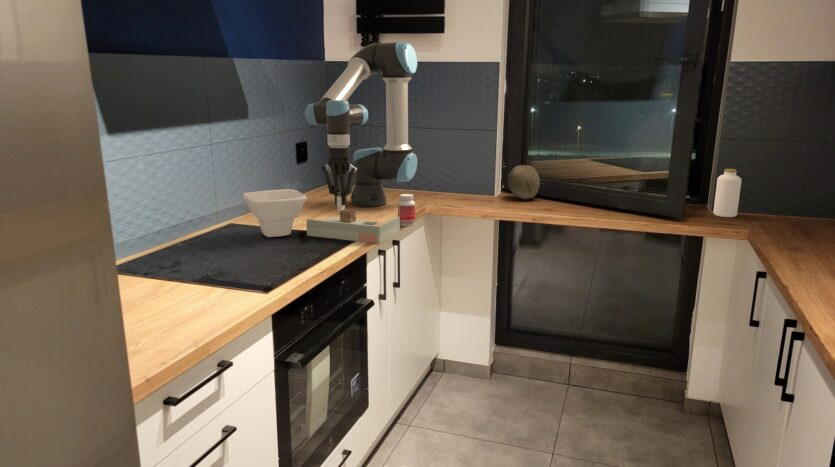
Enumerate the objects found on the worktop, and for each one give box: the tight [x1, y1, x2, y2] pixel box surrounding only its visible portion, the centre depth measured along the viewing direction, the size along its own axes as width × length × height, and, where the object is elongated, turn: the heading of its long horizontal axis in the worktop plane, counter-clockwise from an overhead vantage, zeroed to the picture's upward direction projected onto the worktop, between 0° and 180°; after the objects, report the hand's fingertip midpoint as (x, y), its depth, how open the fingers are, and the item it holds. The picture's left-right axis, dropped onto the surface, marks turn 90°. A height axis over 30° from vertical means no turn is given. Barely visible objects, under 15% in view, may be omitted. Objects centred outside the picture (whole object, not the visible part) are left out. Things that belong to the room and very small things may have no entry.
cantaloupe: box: [507, 164, 541, 201], centre depth 273 cm, size 14×14×15 cm
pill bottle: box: [397, 193, 416, 228], centre depth 225 cm, size 6×6×11 cm
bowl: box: [242, 188, 307, 238], centre depth 209 cm, size 19×19×14 cm
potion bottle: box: [713, 168, 742, 218], centre depth 241 cm, size 8×8×18 cm
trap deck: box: [306, 216, 401, 244], centre depth 213 cm, size 16×27×6 cm, turn 68°
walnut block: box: [339, 208, 357, 223], centre depth 218 cm, size 4×4×4 cm
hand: (341, 214), depth 219 cm, fingers closed
